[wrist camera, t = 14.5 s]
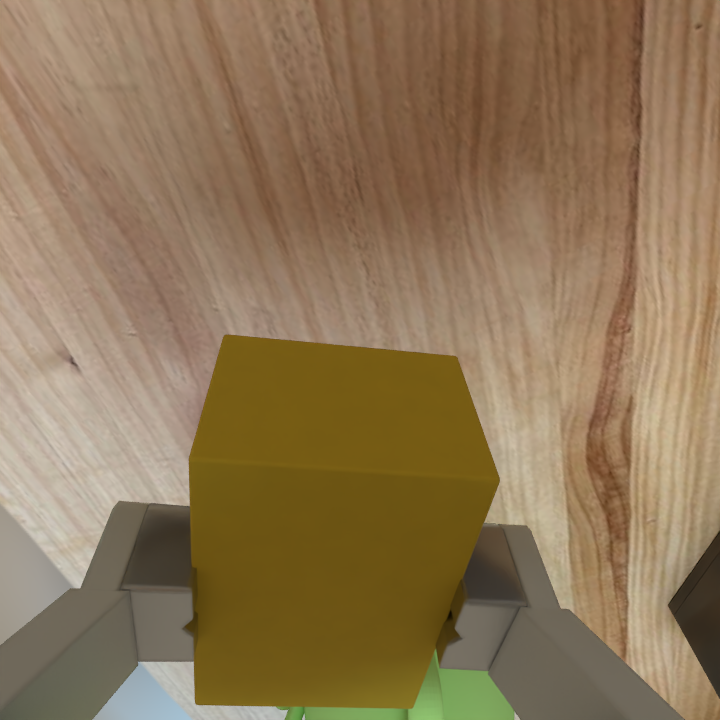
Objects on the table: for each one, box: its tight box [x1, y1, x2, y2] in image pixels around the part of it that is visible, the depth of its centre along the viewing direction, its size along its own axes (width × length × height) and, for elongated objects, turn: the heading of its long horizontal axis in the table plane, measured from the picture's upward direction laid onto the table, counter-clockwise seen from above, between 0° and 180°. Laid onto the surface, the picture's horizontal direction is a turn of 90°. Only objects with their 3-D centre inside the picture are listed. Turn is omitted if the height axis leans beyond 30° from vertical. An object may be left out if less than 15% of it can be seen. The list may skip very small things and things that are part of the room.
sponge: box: [189, 335, 500, 709], centre depth 10 cm, size 6×4×3 cm, turn 172°
